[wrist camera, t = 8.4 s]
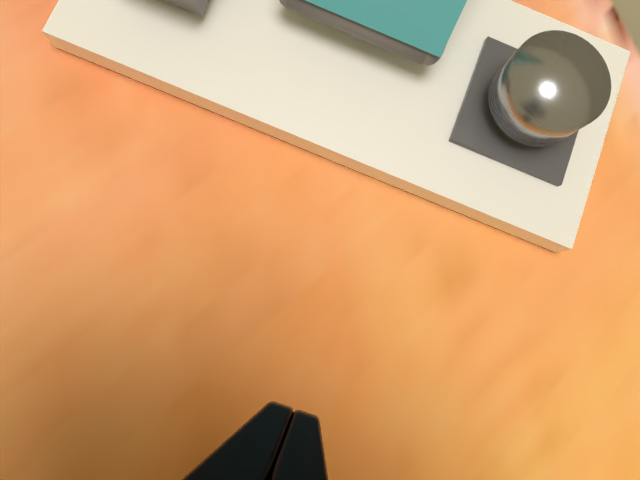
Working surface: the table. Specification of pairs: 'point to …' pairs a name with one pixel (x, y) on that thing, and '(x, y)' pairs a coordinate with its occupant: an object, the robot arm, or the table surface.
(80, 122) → the table surface
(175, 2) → the grey block
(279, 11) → the panel
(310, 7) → the paddle
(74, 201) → the table surface
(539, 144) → the button
